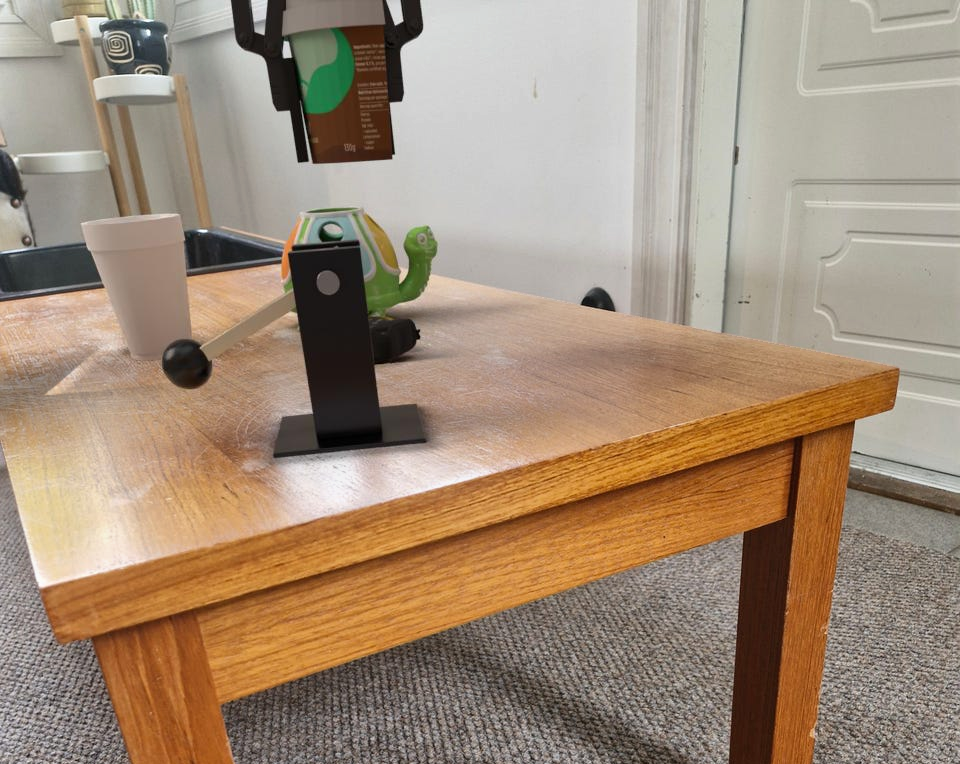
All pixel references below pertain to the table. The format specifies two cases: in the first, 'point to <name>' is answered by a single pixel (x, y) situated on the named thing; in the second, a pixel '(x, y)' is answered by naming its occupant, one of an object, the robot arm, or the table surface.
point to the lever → (217, 345)
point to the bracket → (339, 360)
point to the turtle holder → (369, 254)
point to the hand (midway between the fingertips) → (346, 157)
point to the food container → (341, 77)
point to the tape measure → (392, 337)
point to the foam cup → (143, 278)
